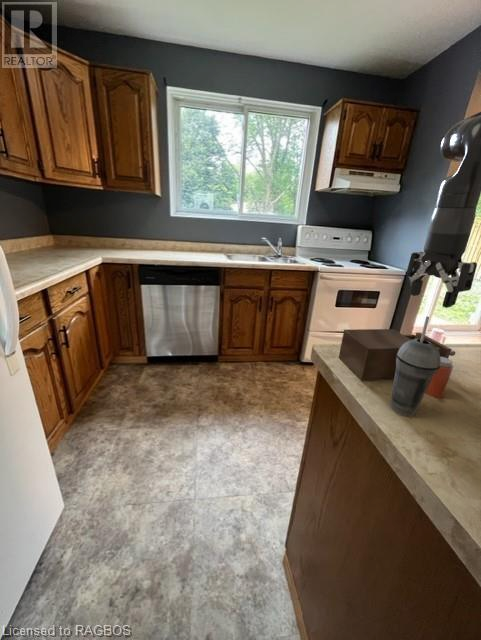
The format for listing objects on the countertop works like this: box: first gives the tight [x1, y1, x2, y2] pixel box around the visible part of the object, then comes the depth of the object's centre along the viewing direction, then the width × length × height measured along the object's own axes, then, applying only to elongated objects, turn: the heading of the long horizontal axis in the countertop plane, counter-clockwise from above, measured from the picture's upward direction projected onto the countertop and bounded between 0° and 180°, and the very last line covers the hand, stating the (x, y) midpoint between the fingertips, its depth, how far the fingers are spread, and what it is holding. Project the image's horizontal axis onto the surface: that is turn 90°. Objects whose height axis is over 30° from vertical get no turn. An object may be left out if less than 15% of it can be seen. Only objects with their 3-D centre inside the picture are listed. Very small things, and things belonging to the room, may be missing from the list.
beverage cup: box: [389, 315, 441, 418], centre depth 52 cm, size 7×7×20 cm
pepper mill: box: [425, 357, 454, 398], centre depth 61 cm, size 4×4×8 cm
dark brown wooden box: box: [338, 328, 411, 382], centre depth 70 cm, size 15×12×9 cm
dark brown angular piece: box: [401, 332, 456, 359], centre depth 72 cm, size 18×10×7 cm, turn 98°
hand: (430, 300), depth 65 cm, fingers open, 8 cm apart
